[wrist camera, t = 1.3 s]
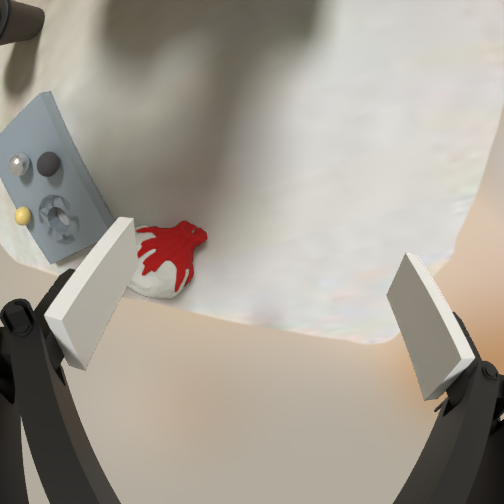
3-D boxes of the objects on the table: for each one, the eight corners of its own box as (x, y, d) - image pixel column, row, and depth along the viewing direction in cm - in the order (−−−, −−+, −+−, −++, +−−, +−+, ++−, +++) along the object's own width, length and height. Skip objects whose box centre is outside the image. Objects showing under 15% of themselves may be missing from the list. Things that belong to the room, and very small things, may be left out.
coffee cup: (57, 24, 25) (10, 22, 16) (22, 58, 27) (-25, 64, 18) (45, -10, 21) (1, -17, 12) (11, 23, 23) (-33, 25, 14)
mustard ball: (19, 207, 38) (8, 215, 35) (28, 200, 37) (17, 208, 34) (28, 222, 39) (17, 231, 37) (37, 216, 38) (26, 224, 36)
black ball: (43, 155, 33) (28, 163, 30) (57, 144, 32) (42, 151, 29) (53, 175, 35) (39, 184, 32) (68, 165, 34) (53, 173, 31)
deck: (-3, 144, 34) (-13, 148, 32) (50, 90, 30) (40, 93, 28) (57, 256, 46) (50, 264, 44) (118, 227, 42) (112, 236, 40)
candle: (109, 247, 43) (173, 183, 39) (160, 294, 48) (228, 239, 44) (87, 278, 35) (157, 204, 31) (147, 330, 40) (226, 272, 36)
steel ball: (16, 156, 33) (1, 163, 30) (27, 145, 32) (12, 152, 29) (25, 174, 35) (11, 183, 32) (37, 164, 34) (22, 173, 31)
